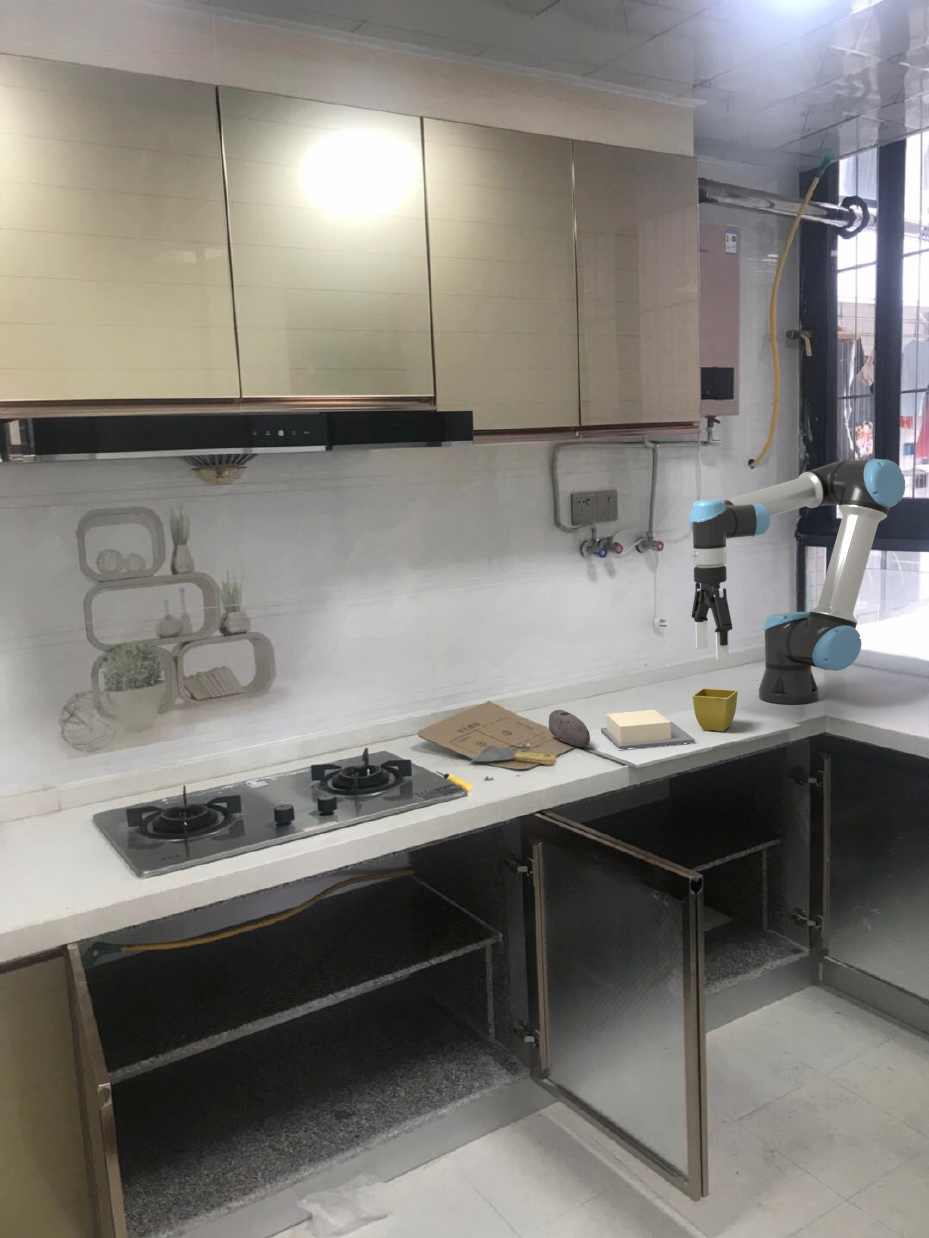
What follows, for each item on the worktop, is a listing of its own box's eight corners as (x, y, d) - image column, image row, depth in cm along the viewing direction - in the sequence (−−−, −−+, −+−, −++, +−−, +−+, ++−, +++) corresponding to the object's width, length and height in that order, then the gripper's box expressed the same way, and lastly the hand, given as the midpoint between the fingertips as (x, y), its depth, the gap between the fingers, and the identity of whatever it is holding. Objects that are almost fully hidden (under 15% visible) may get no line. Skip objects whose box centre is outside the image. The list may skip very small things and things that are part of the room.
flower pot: (703, 722, 237) (702, 687, 235) (738, 725, 232) (738, 689, 231) (692, 731, 229) (691, 695, 228) (728, 735, 225) (728, 698, 224)
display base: (671, 725, 236) (671, 705, 235) (694, 743, 220) (694, 722, 219) (601, 731, 234) (600, 712, 233) (619, 750, 218) (618, 729, 217)
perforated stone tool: (597, 749, 220) (596, 720, 219) (577, 753, 218) (576, 724, 217) (566, 734, 234) (564, 707, 233) (547, 737, 232) (545, 710, 231)
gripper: (677, 561, 237) (679, 645, 240) (713, 572, 212) (715, 664, 216) (706, 559, 238) (708, 642, 241) (746, 569, 213) (747, 662, 216)
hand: (711, 653), depth 228 cm, fingers open, 13 cm apart
